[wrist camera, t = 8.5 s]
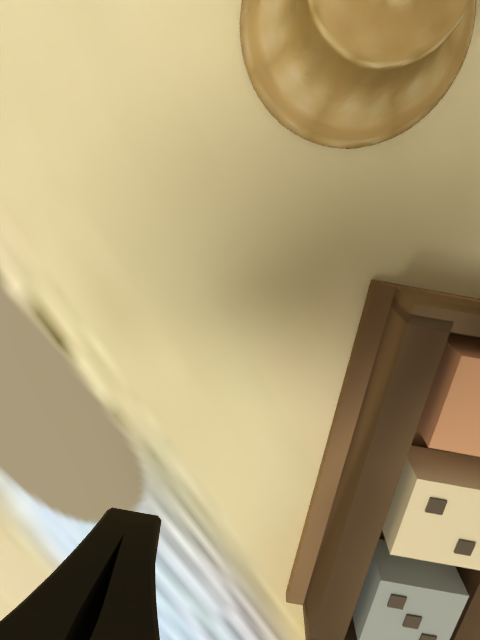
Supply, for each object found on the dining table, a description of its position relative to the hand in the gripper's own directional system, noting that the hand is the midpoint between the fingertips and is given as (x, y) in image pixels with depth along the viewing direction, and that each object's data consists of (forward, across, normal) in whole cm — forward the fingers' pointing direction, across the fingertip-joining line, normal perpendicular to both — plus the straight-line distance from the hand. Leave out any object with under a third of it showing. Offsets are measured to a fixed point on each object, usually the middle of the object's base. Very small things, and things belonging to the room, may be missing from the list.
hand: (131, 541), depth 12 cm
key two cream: (+9, -12, +3) cm, 15 cm away
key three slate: (+9, -12, +8) cm, 17 cm away
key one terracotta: (+9, -12, -2) cm, 15 cm away
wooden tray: (+10, -12, +3) cm, 16 cm away
